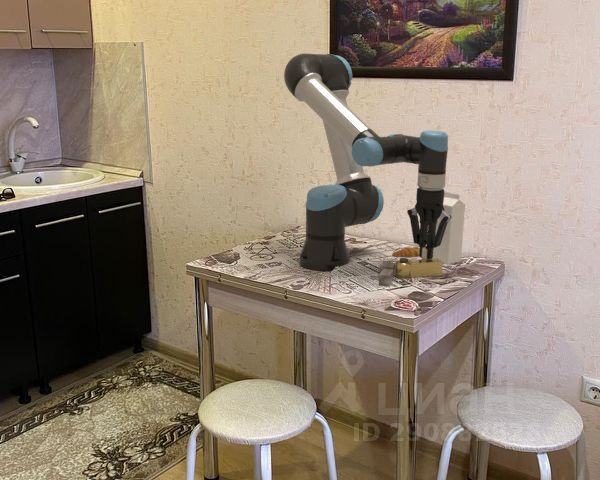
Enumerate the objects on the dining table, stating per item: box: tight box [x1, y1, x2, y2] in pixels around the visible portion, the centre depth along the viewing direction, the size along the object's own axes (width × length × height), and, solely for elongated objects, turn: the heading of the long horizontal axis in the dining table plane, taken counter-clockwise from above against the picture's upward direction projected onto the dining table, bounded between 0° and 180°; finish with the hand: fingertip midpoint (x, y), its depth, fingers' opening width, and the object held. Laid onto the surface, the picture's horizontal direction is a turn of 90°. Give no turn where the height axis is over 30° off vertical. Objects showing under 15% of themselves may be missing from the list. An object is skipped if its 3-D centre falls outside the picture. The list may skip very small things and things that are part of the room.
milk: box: [432, 191, 466, 265], centre depth 199 cm, size 6×6×22 cm
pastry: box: [392, 246, 421, 258], centre depth 207 cm, size 9×7×4 cm
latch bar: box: [394, 258, 444, 279], centre depth 185 cm, size 13×4×4 cm, turn 103°
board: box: [378, 257, 409, 287], centre depth 184 cm, size 17×24×6 cm
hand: (425, 268), depth 189 cm, fingers closed
